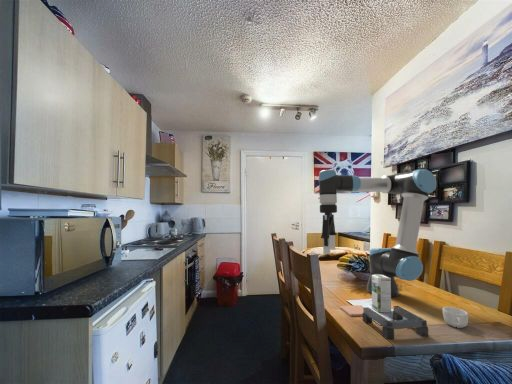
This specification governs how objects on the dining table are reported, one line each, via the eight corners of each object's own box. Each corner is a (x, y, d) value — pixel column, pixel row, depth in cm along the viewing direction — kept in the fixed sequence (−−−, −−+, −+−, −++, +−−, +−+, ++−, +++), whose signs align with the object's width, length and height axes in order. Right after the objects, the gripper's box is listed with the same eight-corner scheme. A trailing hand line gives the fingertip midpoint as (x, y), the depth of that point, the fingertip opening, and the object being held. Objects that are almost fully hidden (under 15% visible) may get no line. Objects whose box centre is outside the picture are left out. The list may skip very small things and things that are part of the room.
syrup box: (371, 307, 112) (370, 274, 114) (384, 307, 113) (383, 274, 114) (378, 312, 107) (377, 277, 108) (392, 312, 107) (391, 277, 108)
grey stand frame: (398, 318, 101) (398, 305, 102) (428, 336, 87) (427, 321, 88) (362, 320, 99) (362, 307, 99) (387, 339, 85) (386, 323, 85)
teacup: (441, 319, 101) (440, 305, 101) (465, 323, 98) (464, 308, 98) (446, 329, 92) (446, 314, 93) (473, 334, 89) (472, 318, 89)
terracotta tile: (360, 306, 113) (360, 305, 113) (373, 315, 104) (373, 313, 104) (339, 308, 112) (339, 306, 112) (350, 316, 103) (350, 314, 103)
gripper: (325, 204, 128) (326, 247, 127) (313, 203, 106) (314, 255, 104) (340, 204, 125) (342, 247, 124) (332, 203, 103) (333, 256, 101)
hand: (329, 251), depth 114 cm, fingers open, 13 cm apart
